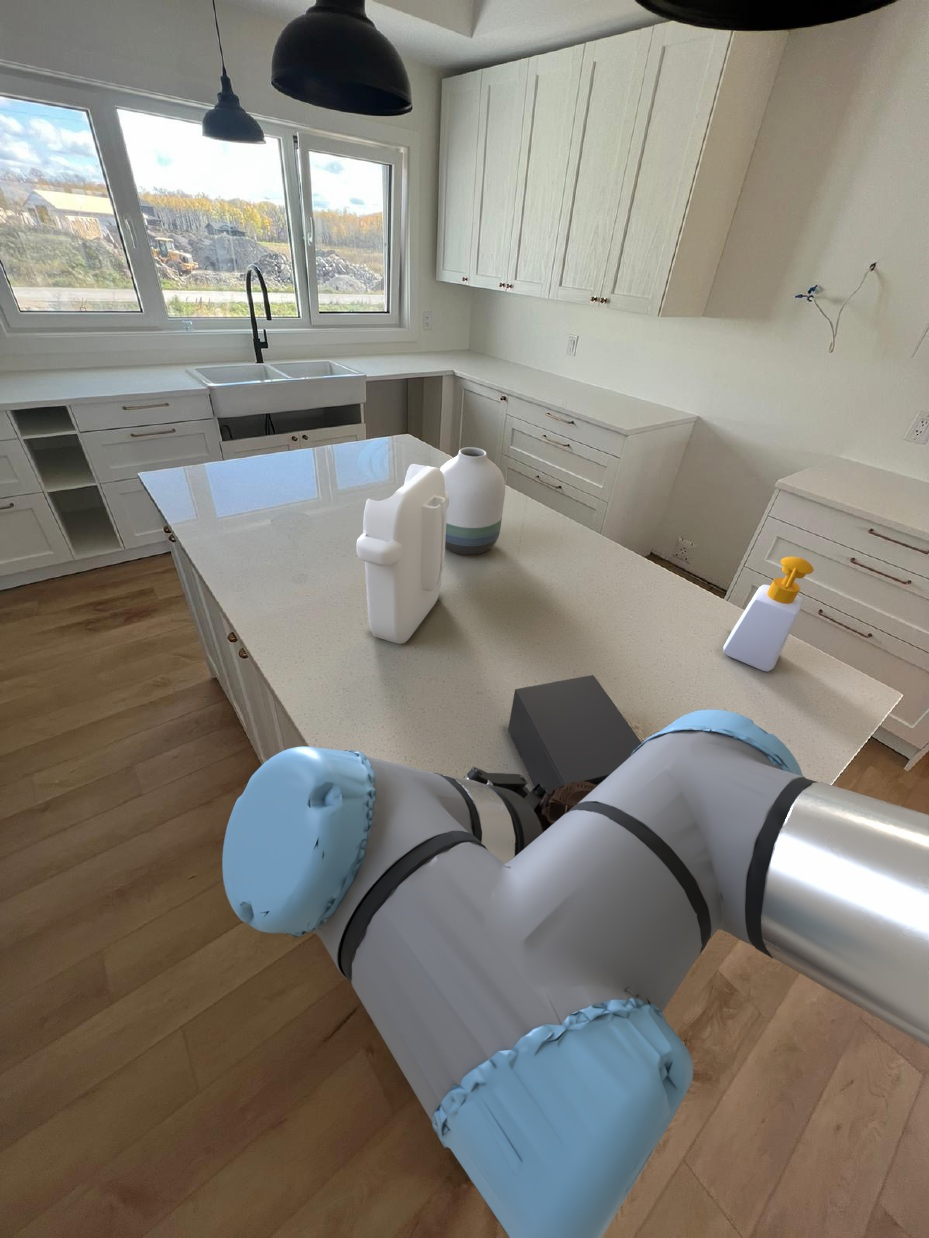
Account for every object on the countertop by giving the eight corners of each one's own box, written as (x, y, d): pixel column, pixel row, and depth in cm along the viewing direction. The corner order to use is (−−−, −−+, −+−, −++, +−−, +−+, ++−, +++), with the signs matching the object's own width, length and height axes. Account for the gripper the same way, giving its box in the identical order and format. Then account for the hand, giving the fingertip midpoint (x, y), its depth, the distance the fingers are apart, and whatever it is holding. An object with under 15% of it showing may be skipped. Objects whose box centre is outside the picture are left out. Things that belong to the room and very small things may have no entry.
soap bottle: (713, 665, 101) (760, 569, 87) (731, 632, 110) (776, 540, 97) (764, 688, 97) (822, 591, 83) (779, 652, 106) (833, 558, 92)
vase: (505, 559, 128) (518, 465, 113) (437, 562, 125) (441, 466, 110) (490, 527, 141) (499, 439, 126) (428, 529, 138) (431, 439, 123)
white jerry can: (409, 665, 95) (410, 518, 77) (356, 648, 98) (344, 502, 80) (461, 589, 116) (471, 459, 98) (416, 577, 119) (417, 448, 100)
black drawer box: (637, 803, 75) (656, 762, 70) (553, 826, 72) (566, 785, 66) (581, 714, 88) (593, 674, 83) (507, 730, 85) (515, 688, 79)
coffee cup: (501, 886, 51) (516, 808, 44) (554, 835, 56) (576, 757, 48) (571, 959, 46) (602, 886, 38) (623, 897, 51) (659, 820, 43)
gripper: (364, 768, 40) (507, 797, 57) (529, 1059, 27) (651, 983, 44) (425, 696, 39) (552, 747, 56) (627, 957, 26) (712, 920, 43)
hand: (595, 850), depth 50 cm, fingers closed on coffee cup, 8 cm apart
